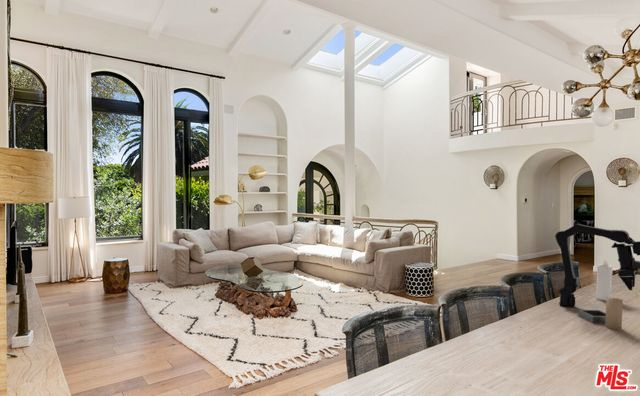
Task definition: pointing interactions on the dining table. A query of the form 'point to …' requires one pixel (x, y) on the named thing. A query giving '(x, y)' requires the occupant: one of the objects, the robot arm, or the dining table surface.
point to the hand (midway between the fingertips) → (632, 288)
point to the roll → (613, 313)
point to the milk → (604, 281)
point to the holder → (593, 315)
